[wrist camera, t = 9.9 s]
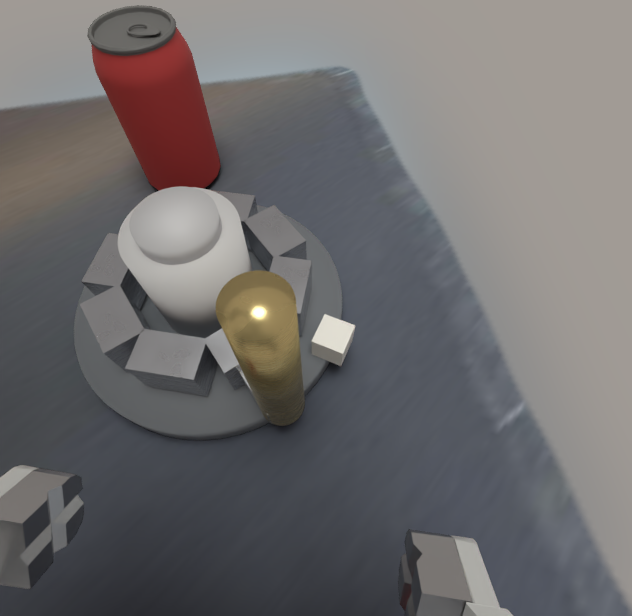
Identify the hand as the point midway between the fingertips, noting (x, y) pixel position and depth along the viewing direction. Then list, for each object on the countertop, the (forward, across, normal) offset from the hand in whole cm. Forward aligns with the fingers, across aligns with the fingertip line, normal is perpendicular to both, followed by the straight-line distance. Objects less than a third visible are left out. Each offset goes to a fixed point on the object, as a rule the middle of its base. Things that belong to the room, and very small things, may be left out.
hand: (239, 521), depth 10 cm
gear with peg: (+16, +6, 0) cm, 17 cm away
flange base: (+19, +7, +1) cm, 20 cm away
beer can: (+29, +14, -8) cm, 33 cm away
